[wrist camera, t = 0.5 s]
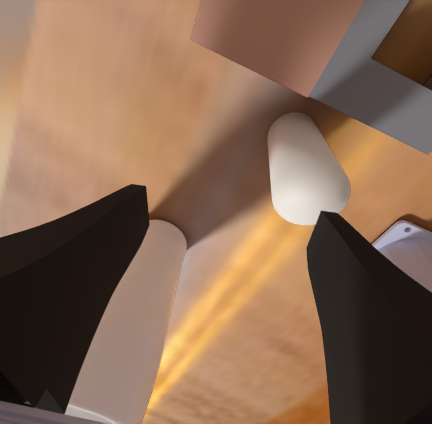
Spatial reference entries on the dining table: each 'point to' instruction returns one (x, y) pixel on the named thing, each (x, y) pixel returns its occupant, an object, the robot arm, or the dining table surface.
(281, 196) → the peg
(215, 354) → the dining table surface
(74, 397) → the cream rounded cylinder
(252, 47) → the socket station
